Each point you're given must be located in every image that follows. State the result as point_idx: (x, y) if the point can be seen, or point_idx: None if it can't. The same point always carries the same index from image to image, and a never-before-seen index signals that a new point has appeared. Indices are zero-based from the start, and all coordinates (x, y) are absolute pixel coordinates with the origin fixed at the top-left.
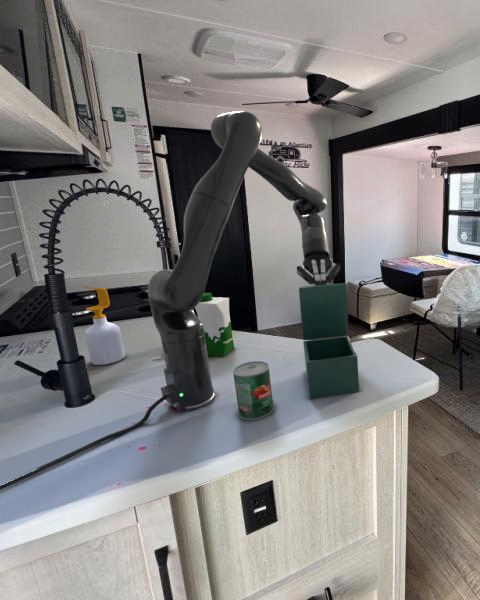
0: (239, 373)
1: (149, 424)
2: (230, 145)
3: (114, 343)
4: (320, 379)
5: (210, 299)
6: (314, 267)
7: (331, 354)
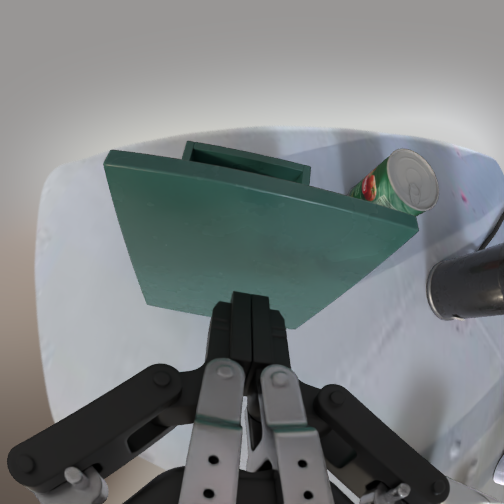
0: (427, 173)
1: (472, 248)
2: None
3: None
4: None
5: None
6: (312, 488)
7: None
